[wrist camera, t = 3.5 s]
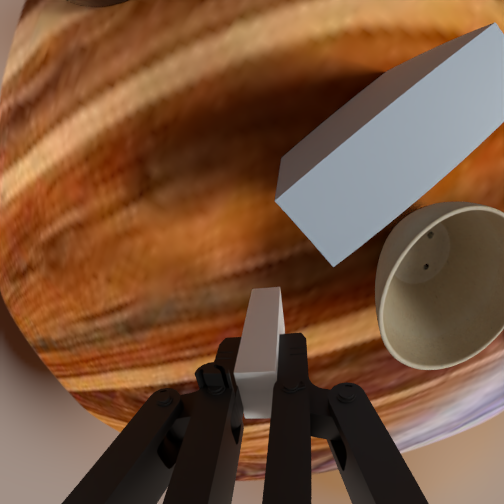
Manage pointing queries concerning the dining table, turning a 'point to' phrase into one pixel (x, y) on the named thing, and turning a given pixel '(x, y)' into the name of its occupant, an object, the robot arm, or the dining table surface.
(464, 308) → the flower pot
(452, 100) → the pale blue rectangular prism
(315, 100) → the dining table surface
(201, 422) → the robot arm
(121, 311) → the dining table surface
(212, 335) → the dining table surface
